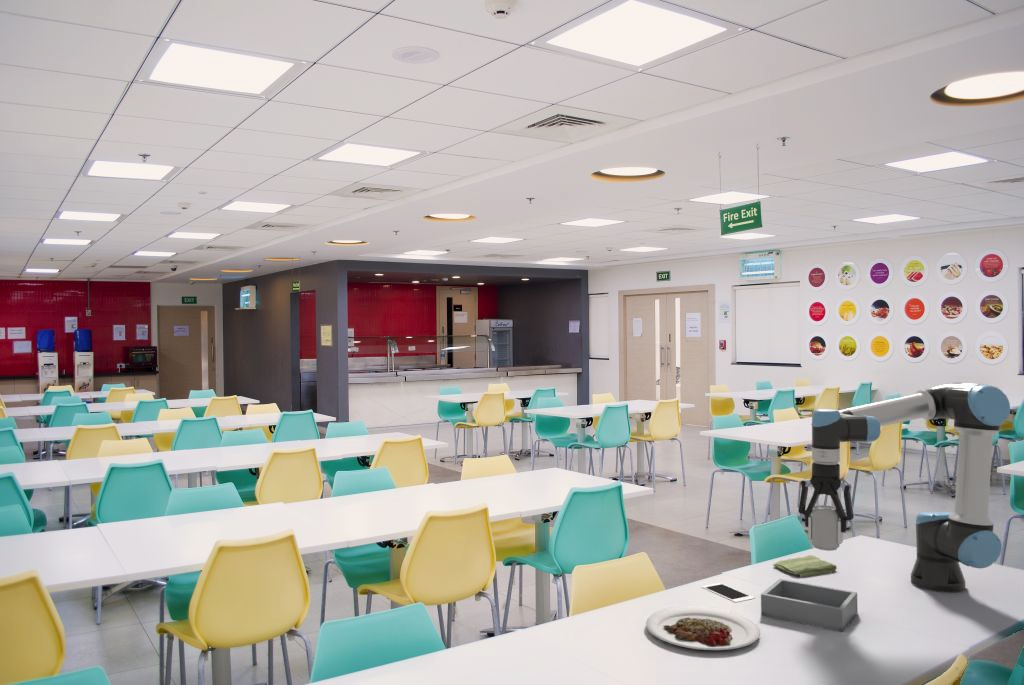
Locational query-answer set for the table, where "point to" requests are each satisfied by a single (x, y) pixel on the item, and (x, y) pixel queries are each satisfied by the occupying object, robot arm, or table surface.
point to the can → (825, 527)
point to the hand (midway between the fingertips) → (825, 540)
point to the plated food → (703, 628)
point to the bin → (809, 604)
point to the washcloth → (805, 566)
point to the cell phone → (728, 592)
